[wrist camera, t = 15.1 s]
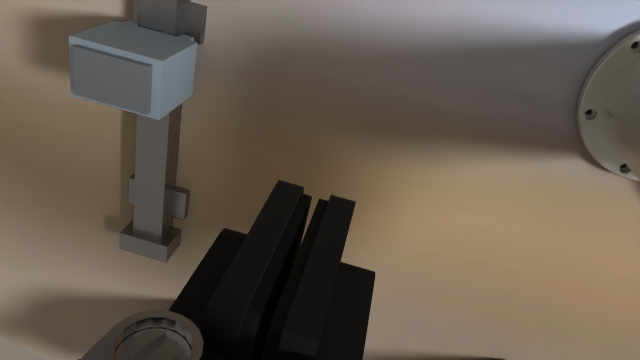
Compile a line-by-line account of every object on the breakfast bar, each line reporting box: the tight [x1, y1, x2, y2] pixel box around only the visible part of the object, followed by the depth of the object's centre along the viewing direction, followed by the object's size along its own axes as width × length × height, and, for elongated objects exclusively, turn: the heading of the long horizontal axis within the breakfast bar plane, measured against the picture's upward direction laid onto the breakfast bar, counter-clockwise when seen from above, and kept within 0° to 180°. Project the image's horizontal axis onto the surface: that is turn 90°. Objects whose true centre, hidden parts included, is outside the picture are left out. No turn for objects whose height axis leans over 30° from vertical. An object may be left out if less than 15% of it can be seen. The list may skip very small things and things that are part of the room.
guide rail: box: [120, 0, 207, 262], centre depth 46 cm, size 27×6×3 cm, turn 168°
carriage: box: [69, 20, 197, 120], centre depth 39 cm, size 4×7×8 cm, turn 78°
